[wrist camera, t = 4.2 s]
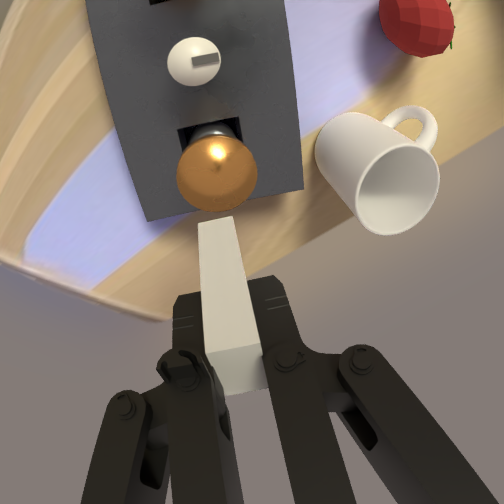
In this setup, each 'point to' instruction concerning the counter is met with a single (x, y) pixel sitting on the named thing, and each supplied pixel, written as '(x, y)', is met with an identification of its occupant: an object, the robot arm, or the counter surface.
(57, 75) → the counter surface
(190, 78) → the dial
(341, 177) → the mug
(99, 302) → the counter surface
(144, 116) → the console
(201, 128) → the knob
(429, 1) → the tomato
